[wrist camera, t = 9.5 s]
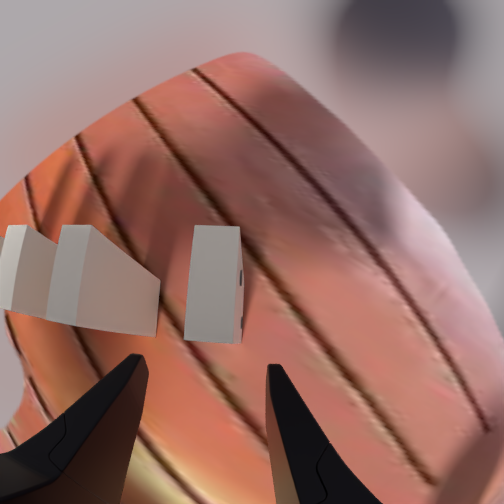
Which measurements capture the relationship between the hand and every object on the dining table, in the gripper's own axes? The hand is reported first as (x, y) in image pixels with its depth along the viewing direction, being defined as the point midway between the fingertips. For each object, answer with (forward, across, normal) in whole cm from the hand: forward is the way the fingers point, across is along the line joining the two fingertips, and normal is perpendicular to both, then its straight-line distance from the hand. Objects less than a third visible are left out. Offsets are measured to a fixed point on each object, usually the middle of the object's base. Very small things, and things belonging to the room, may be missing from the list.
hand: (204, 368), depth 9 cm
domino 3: (+9, 0, +5) cm, 10 cm away
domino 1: (+9, +10, +5) cm, 14 cm away
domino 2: (+9, +6, +5) cm, 12 cm away
